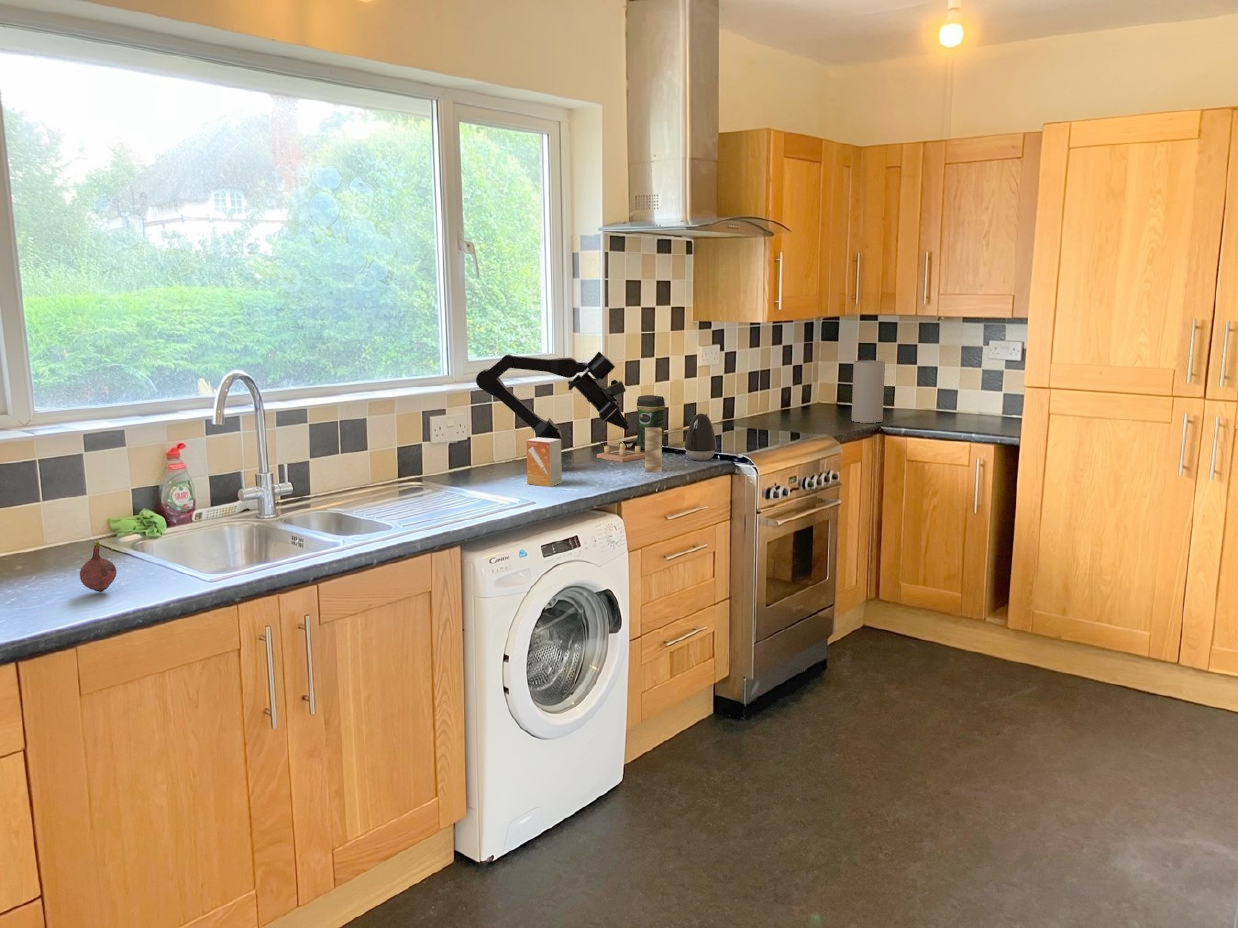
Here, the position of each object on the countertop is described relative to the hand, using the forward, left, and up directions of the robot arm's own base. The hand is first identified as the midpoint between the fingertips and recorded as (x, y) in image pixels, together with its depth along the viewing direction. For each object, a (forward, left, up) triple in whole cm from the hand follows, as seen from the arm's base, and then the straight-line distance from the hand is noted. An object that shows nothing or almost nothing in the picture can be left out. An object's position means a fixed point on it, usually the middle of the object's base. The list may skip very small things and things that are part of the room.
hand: (627, 426), depth 298 cm
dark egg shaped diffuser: (+30, +4, -14) cm, 33 cm away
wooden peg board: (+10, +20, -14) cm, 26 cm away
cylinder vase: (+139, +42, -14) cm, 146 cm away
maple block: (+6, -5, -14) cm, 16 cm away
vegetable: (-146, -56, -14) cm, 157 cm away
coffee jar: (+28, +32, -14) cm, 45 cm away
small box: (-31, -6, -14) cm, 35 cm away
